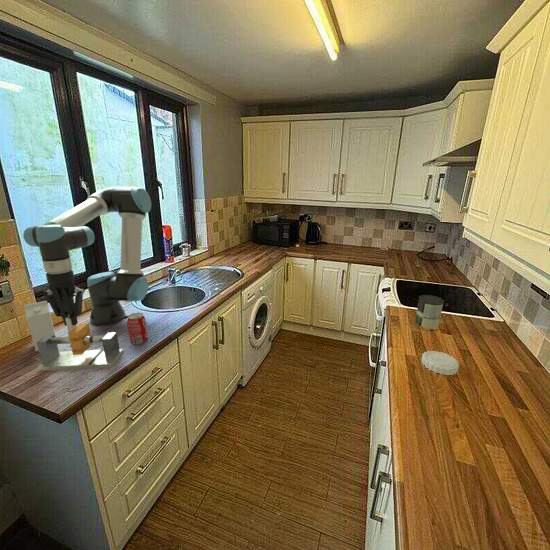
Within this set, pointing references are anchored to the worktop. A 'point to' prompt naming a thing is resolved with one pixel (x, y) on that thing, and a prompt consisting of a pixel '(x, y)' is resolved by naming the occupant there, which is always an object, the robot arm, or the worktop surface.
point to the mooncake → (440, 362)
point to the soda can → (137, 328)
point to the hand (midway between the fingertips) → (73, 332)
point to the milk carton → (39, 321)
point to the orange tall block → (79, 338)
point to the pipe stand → (87, 360)
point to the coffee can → (429, 311)
